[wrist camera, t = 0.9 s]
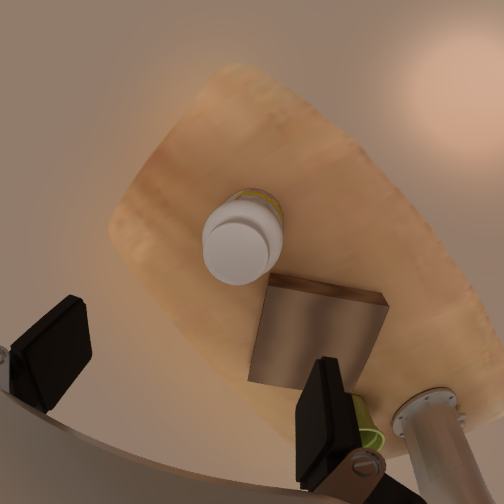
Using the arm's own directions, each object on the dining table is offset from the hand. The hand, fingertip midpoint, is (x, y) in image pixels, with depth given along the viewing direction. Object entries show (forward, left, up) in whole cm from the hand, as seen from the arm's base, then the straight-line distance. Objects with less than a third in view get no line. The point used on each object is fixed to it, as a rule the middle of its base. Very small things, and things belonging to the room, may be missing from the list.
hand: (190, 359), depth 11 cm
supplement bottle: (0, 0, -24) cm, 24 cm away
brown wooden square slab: (-10, +13, -24) cm, 29 cm away
